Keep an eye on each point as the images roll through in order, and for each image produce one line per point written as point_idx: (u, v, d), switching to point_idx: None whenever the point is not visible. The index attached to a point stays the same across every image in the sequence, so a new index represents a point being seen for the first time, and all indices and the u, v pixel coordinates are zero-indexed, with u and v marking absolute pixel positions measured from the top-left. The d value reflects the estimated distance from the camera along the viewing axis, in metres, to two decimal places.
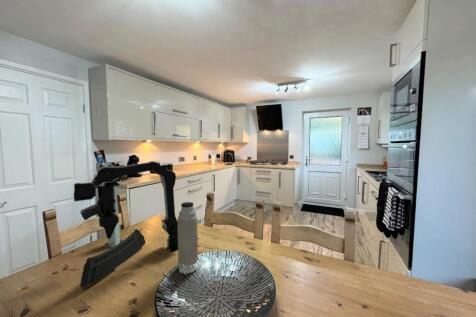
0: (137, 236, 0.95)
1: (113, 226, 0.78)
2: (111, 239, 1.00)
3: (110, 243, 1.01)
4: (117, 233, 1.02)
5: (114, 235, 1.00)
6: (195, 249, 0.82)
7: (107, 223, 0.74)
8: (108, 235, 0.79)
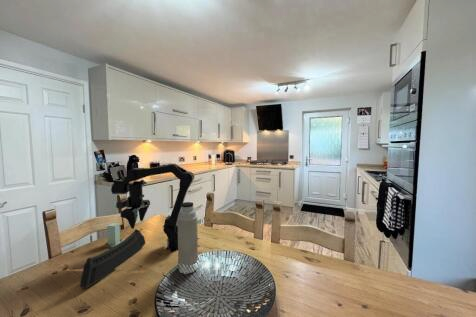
0: (137, 236, 0.95)
1: (133, 219, 0.93)
2: (111, 239, 1.00)
3: (110, 243, 1.01)
4: (117, 233, 1.02)
5: (114, 235, 1.00)
6: (195, 249, 0.82)
7: (125, 216, 0.89)
8: (131, 225, 0.94)
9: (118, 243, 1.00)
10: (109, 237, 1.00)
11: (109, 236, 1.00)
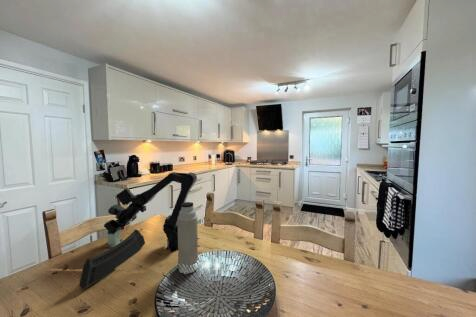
0: (137, 236, 0.94)
1: None
2: (111, 239, 1.00)
3: (110, 243, 1.01)
4: (117, 233, 1.02)
5: (114, 235, 1.00)
6: (195, 249, 0.82)
7: (107, 228, 0.92)
8: (109, 231, 1.00)
9: (118, 243, 1.00)
10: (109, 237, 1.00)
11: (109, 236, 1.00)
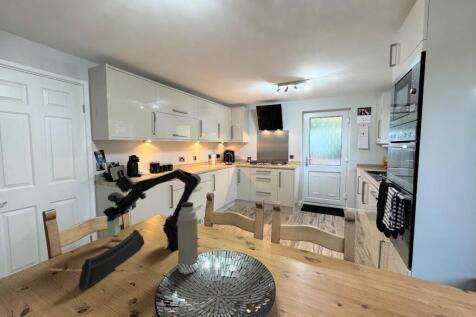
0: (136, 237, 0.94)
1: None
2: (111, 227, 1.00)
3: (109, 231, 1.00)
4: (117, 221, 1.01)
5: (114, 222, 1.00)
6: (195, 249, 0.82)
7: (106, 214, 0.92)
8: (108, 219, 0.99)
9: (117, 243, 1.00)
10: (108, 225, 1.00)
11: (108, 224, 1.00)
